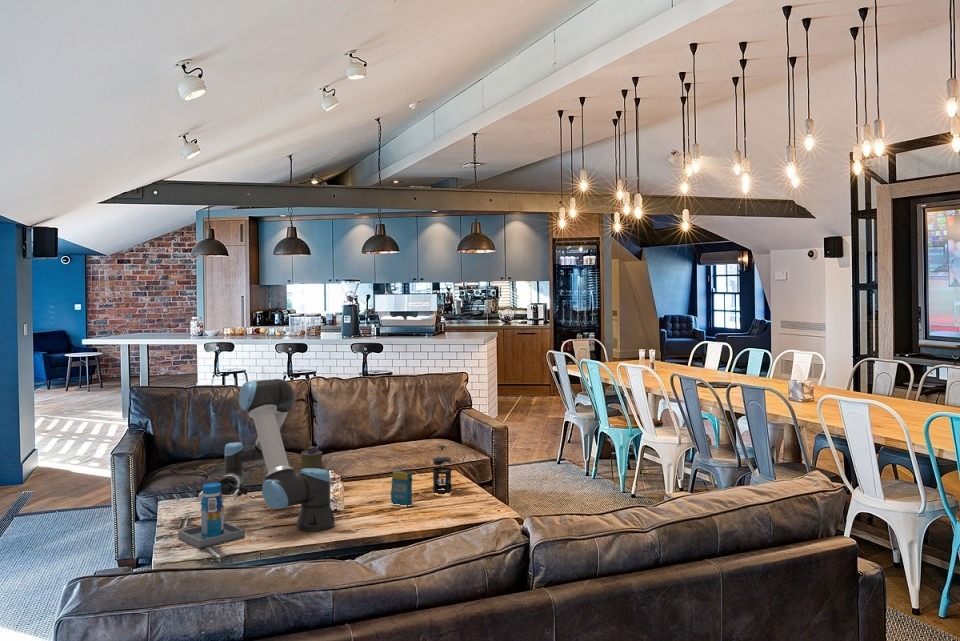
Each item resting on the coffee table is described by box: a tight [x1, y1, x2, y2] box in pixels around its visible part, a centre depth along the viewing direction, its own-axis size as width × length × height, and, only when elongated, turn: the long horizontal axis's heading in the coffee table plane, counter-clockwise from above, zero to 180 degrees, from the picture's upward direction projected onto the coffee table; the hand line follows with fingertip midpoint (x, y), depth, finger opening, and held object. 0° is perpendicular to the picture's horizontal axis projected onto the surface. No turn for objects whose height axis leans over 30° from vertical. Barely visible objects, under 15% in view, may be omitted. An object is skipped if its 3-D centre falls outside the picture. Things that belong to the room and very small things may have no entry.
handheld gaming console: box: [390, 470, 413, 506], centre depth 323 cm, size 10×4×15 cm, turn 65°
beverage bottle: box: [200, 482, 225, 539], centre depth 279 cm, size 8×8×20 cm
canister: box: [300, 446, 323, 470], centre depth 357 cm, size 11×10×20 cm
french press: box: [432, 445, 453, 494], centre depth 343 cm, size 12×9×23 cm
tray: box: [177, 521, 246, 550], centre depth 279 cm, size 18×18×3 cm
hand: (217, 497), depth 288 cm, fingers open, 13 cm apart
